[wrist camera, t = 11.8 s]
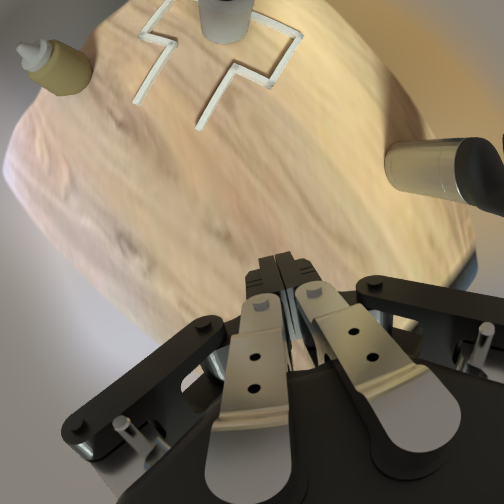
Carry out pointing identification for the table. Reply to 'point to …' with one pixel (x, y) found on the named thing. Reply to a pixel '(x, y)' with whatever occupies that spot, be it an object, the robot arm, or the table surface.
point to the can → (225, 19)
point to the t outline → (232, 71)
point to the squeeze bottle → (55, 66)
